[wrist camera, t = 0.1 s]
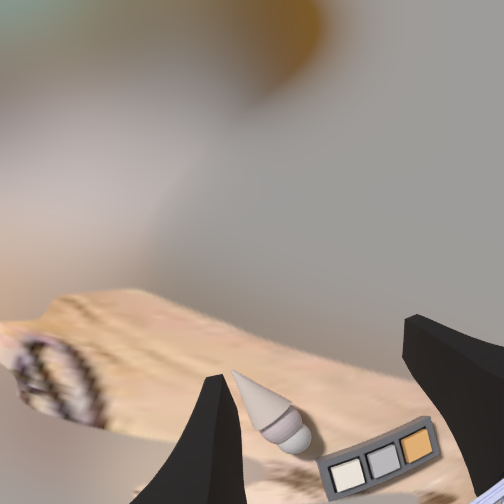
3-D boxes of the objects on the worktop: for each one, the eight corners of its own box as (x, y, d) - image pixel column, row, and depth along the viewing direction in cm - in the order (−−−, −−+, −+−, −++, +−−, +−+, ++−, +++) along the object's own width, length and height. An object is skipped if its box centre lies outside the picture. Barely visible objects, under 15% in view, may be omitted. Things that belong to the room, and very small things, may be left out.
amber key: (428, 450, 29) (432, 451, 28) (406, 461, 29) (409, 463, 28) (423, 429, 31) (426, 429, 30) (400, 440, 31) (403, 441, 30)
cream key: (362, 480, 29) (364, 482, 28) (336, 489, 29) (338, 492, 28) (356, 458, 31) (358, 460, 30) (330, 467, 31) (331, 469, 30)
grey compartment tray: (430, 451, 31) (439, 453, 29) (326, 495, 31) (328, 501, 28) (421, 415, 34) (430, 416, 32) (315, 458, 34) (317, 462, 31)
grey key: (397, 466, 29) (400, 467, 28) (372, 476, 29) (375, 478, 28) (391, 444, 31) (394, 445, 30) (366, 454, 31) (369, 456, 30)
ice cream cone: (234, 365, 41) (302, 439, 37) (204, 387, 37) (279, 467, 33) (256, 346, 38) (330, 428, 34) (224, 370, 33) (308, 460, 29)
